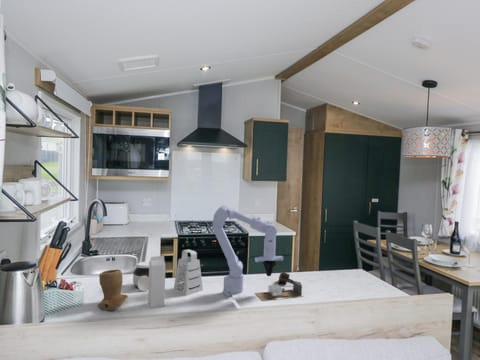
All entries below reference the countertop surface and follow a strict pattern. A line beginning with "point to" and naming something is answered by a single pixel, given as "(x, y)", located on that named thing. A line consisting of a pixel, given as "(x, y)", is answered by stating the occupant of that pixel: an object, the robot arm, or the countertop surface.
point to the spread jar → (141, 276)
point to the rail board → (283, 293)
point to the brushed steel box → (275, 290)
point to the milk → (156, 282)
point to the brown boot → (111, 289)
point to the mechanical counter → (285, 278)
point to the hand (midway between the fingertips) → (268, 275)
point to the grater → (188, 274)
